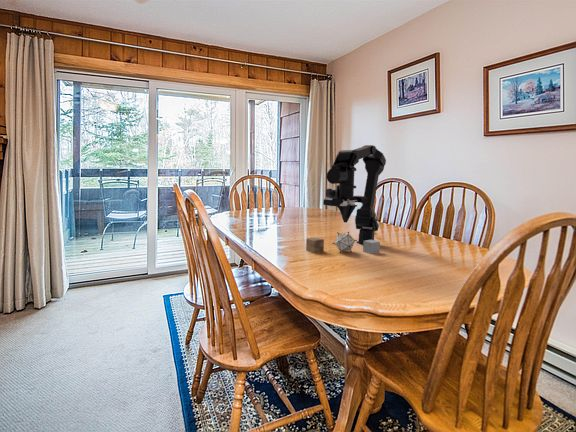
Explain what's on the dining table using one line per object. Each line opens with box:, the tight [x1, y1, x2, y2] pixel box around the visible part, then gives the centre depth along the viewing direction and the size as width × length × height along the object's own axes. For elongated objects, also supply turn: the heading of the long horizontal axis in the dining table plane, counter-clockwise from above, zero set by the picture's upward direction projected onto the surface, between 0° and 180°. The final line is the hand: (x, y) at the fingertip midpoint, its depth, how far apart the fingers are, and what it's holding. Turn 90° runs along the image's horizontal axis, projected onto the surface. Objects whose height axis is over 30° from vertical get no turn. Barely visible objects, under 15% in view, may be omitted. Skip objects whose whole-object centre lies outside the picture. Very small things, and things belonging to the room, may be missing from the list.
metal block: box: [305, 236, 325, 254], centre depth 142 cm, size 5×5×5 cm
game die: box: [332, 231, 358, 254], centre depth 141 cm, size 9×8×10 cm
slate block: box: [362, 239, 381, 255], centre depth 141 cm, size 4×4×4 cm
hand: (345, 222), depth 140 cm, fingers closed
